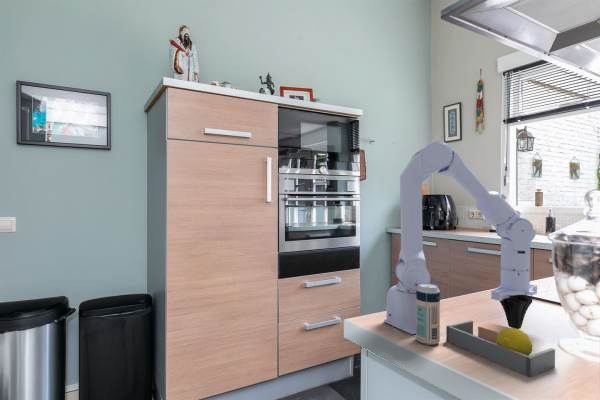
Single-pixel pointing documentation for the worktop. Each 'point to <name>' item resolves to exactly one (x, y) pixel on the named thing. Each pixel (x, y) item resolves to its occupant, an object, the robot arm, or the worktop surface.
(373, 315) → the worktop surface
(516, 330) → the lemon
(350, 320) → the worktop surface
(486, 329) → the tile
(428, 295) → the beer can
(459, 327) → the fence
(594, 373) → the worktop surface
